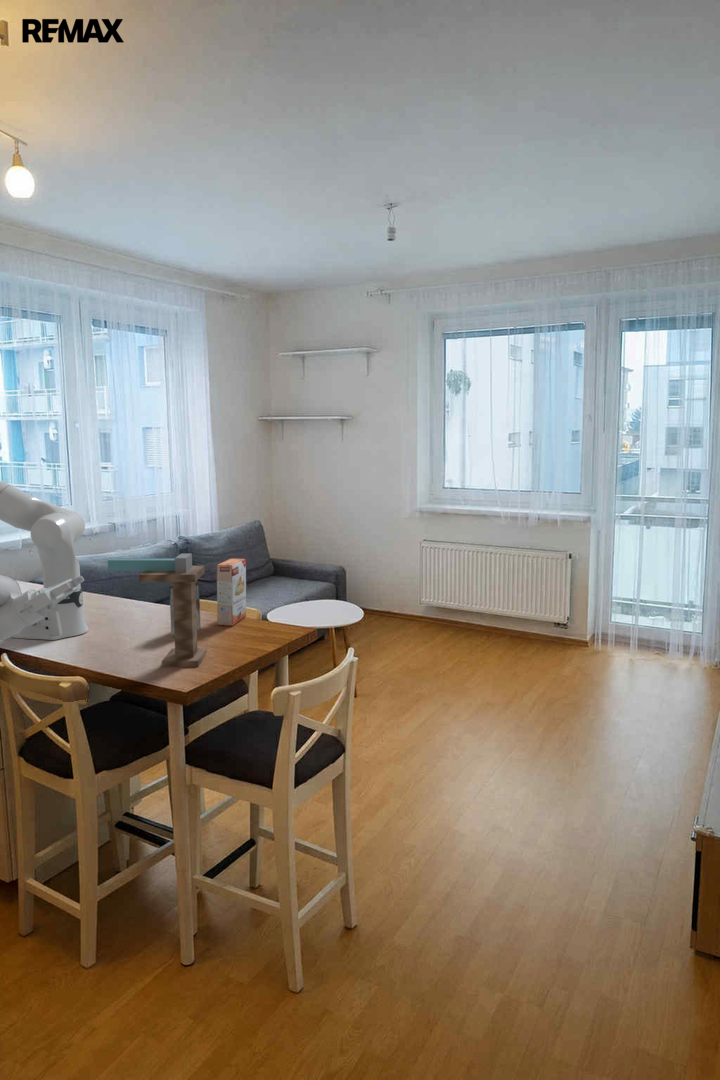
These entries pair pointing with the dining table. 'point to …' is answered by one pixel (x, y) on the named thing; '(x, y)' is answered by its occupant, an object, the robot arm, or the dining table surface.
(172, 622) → the coffee box
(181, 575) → the stand
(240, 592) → the cracker box
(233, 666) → the dining table surface
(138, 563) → the hammer
